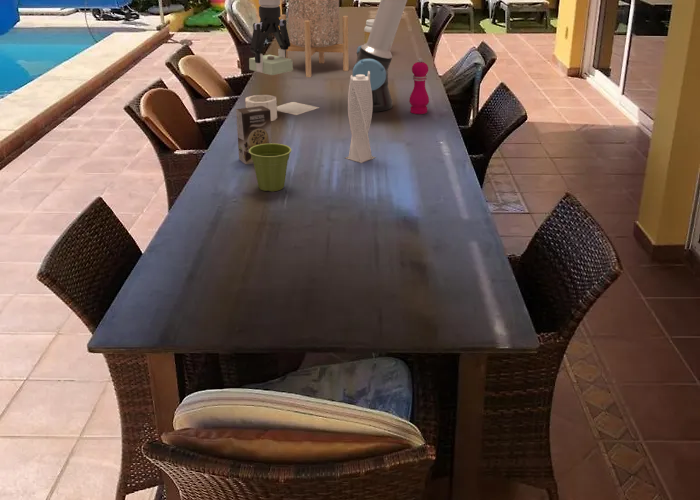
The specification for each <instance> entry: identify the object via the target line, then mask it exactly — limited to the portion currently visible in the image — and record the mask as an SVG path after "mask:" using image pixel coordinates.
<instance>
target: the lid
mask: <svg viewBox="0 0 700 500" xmlns="http://www.w3.org/2000/svg"><path fill="white" fill-rule="evenodd" d="M293 62H294V61H293V59H292V58H288V59H287V58H283V57H278V55H272V54H265V55H263V73H262V74H264V75H265V74H266V75H269V76H275V75H279V74H286V73H289V72H293V64H294V63H293ZM248 64H249V65H248V66H249V68H248V69H249V70H250V71H254V72H257V69H256V63H255V56H254V57H249V59H248Z"/></svg>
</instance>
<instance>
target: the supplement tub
mask: <svg viewBox="0 0 700 500" xmlns="http://www.w3.org/2000/svg"><path fill="white" fill-rule="evenodd" d="M374 19H375V18H369V19H367V20H366V21H365V22H366V23H365V26H364V28H363V29H364V30H363V33H364V35H363V39H364V40H363V45H364V44H366V43H367V41H368V38H369V35H370V32H371V29H372V26H373V23H374Z"/></svg>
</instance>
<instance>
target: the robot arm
mask: <svg viewBox="0 0 700 500" xmlns="http://www.w3.org/2000/svg"><path fill="white" fill-rule="evenodd" d="M407 3H408V0H380V1H379V4H378V8H377V11H376V14H375V17H374V18H373V19H374V23H373V26H372V29H371V32H370V35H369V38H368V41H367V43H366V44H364V43H363V44H361V45H358V46H357V49H356V61H355V64H354V66H353V68H352V77H356V75H359V74H362V75H365V76H368V71H370V83H371V90H372V101H373V109H372V113H373V112H375V113H376V112H377V113H378V112H384V111H388V110H390V109H392V108H393V99H392V96H391V92H390V89H389V68H390V65H391V63H392V59H393V55H392V54H393V53H391V49H392V45H393V43H394V40H395V37H396V35H397V31H398V29H399V25H400V22H401V19H402V16H403V14H404V11H405V8H406V4H407ZM258 5H259V6H258V17H259V19H260V21H259V22H258V23H254V22H253V24H252V28H253V31H252V37H251V40H250V41H251V42H250V47H249V52H250V53H253V54H254V57H255V63H256V69H257V71H256V72H257V73H262V74H264V73H263V56H264V55H263V54H264V53H262V51H263V49H264V46H265V42H266V40H267V37H268V36H269V34H273V35H274V37H275V40H276V42H277V44H278V46H279V48H278V49H277V51H278V55H277V56H278V57H283V58H286V50H287V49H288V47H290V43H291V42H290V35H289V33H288V28H287V19H286V20H283V19H280V16H281V15H282V14H281V6H280V5H281V0H258ZM286 42H287V43H286Z"/></svg>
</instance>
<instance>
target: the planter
mask: <svg viewBox="0 0 700 500" xmlns="http://www.w3.org/2000/svg"><path fill="white" fill-rule="evenodd" d="M287 2H288V28H289V29H288V30H289V40H290V47H288V49H287V50H286V58H287V59H289V57H288V55H289V54H288V52H304V56H305V57H304V59H305V60H304V61H305V77H306V78H311V77H312V56H314V54H316V53H318V63H319V64H325V53H340V54H341V53H342V71H343V72H349V67H350V66H349V62H350V61H349V56H350V55H349V16H348V15H343V16H342V43H339V42H340V0H288V1H287ZM279 19H283V20H286V21H287V15H286V14H281V16H280V17H279ZM286 43H287V42H286Z"/></svg>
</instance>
